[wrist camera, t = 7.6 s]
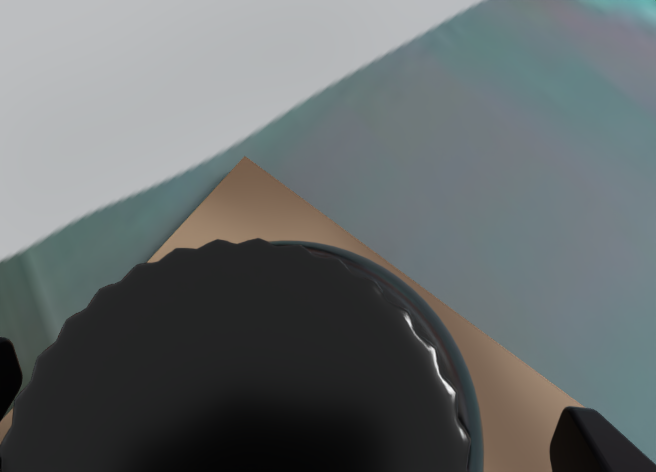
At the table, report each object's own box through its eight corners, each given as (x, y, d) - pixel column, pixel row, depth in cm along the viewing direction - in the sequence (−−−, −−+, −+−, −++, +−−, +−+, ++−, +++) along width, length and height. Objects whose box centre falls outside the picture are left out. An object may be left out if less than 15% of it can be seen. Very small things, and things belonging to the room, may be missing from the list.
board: (299, 925, 13) (295, 967, 12) (-57, 503, 17) (-82, 510, 16) (601, 429, 16) (617, 431, 15) (249, 167, 20) (244, 156, 19)
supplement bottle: (171, 418, 16) (-264, 489, 5) (307, 267, 18) (222, 40, 6) (326, 580, 15) (227, 1263, 3) (463, 399, 16) (739, 425, 5)
